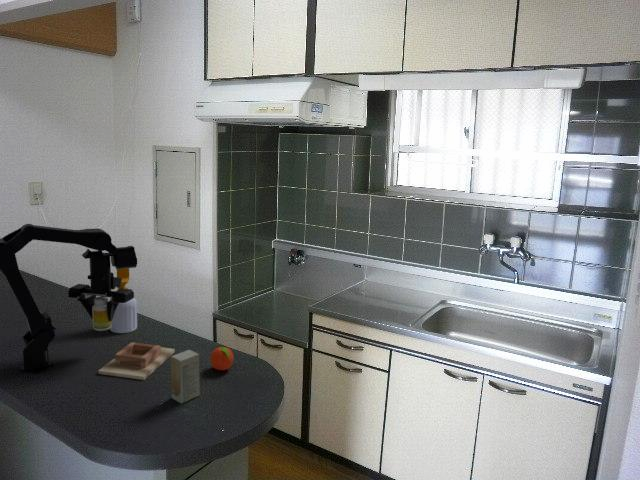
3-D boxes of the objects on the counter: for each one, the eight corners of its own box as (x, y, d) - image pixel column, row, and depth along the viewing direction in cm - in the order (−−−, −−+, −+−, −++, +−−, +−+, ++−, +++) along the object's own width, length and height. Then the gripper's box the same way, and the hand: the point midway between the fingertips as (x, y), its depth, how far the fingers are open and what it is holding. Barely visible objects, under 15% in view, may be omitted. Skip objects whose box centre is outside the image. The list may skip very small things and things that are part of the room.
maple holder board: (143, 379, 148) (143, 366, 147) (98, 373, 150) (98, 360, 149) (174, 351, 168) (174, 340, 167) (133, 346, 170) (133, 335, 169)
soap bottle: (108, 334, 178) (106, 264, 173) (111, 324, 187) (109, 258, 182) (136, 333, 181) (135, 264, 176) (137, 323, 189) (136, 257, 184)
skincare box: (190, 390, 144) (190, 348, 141) (200, 395, 141) (200, 353, 139) (170, 398, 139) (169, 355, 137) (180, 404, 136) (180, 360, 134)
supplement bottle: (90, 326, 161) (89, 297, 160) (108, 323, 165) (107, 294, 163) (96, 332, 157) (94, 302, 155) (114, 328, 161) (113, 299, 159)
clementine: (240, 371, 156) (240, 349, 155) (220, 378, 152) (220, 355, 150) (225, 362, 162) (225, 340, 161) (205, 368, 157) (205, 346, 156)
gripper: (142, 267, 164) (143, 314, 167) (87, 261, 167) (89, 308, 170) (123, 276, 153) (124, 326, 156) (65, 270, 156) (68, 320, 159)
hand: (102, 320), depth 161 cm, fingers closed on supplement bottle, 5 cm apart
